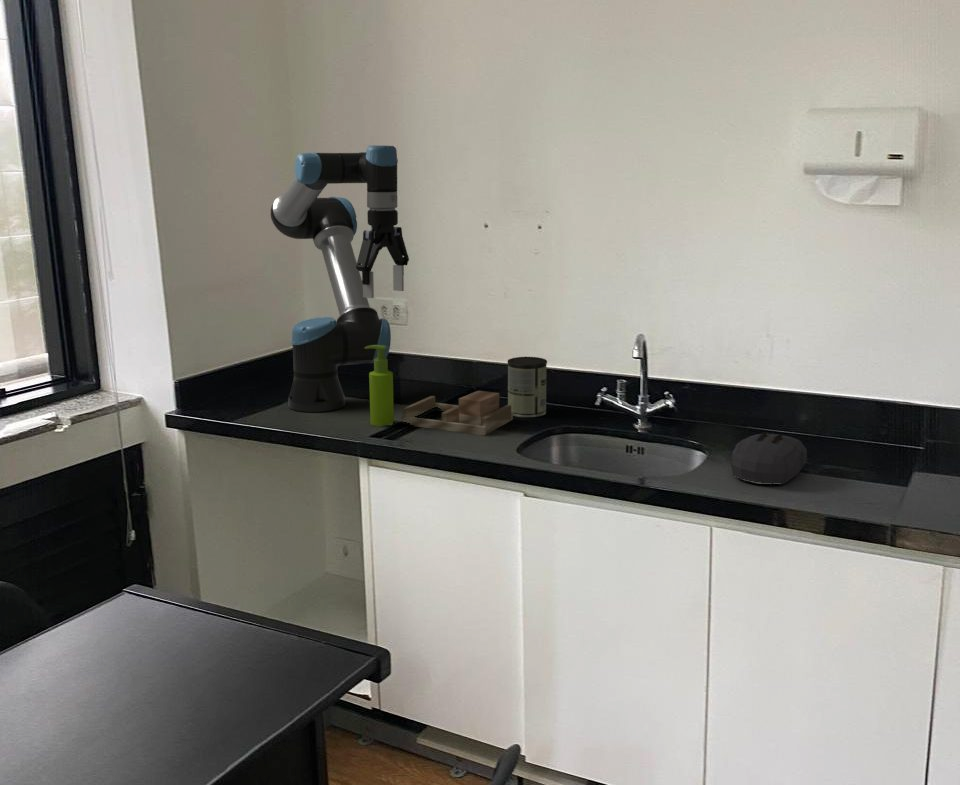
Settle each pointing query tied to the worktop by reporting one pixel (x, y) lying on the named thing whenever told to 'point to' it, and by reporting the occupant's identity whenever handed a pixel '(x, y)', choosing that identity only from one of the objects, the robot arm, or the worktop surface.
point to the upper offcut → (478, 403)
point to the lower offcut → (471, 419)
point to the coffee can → (527, 386)
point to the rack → (454, 418)
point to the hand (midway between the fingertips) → (383, 294)
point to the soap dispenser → (381, 390)
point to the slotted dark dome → (768, 458)
